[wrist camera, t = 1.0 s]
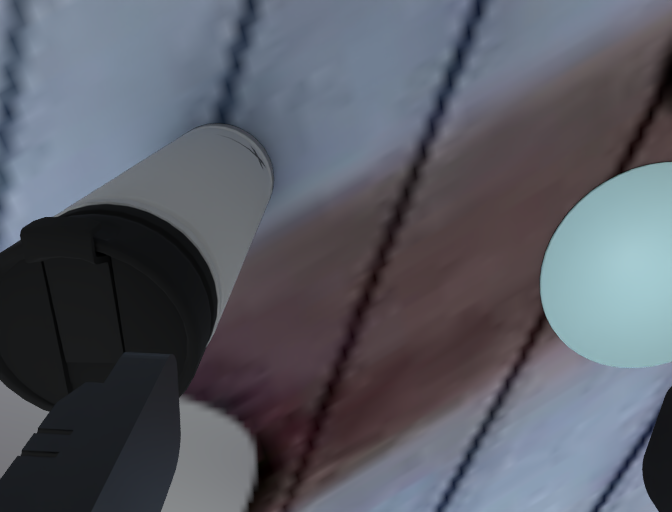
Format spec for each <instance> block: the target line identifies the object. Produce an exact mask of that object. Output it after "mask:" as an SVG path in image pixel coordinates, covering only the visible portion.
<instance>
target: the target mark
mask: <svg viewBox="0 0 672 512" xmlns="http://www.w3.org/2000/svg"><path fill="white" fill-rule="evenodd" d="M540 296H541V302H542V306H543V309H544V312H545V315H546V318H547V319H548V321H549V323H550V325H551V327H552V329H553V330H554V331H555V333H556V334H557V335H558V337H559V338H560V339H561V340H562V341H563V342H564V343H565V344H566V345H567V346H568V347H569V348H571V349H572V350H573V351H575V352H576V353H578V354H579V355H581V356H583V357H585V358H587V359H589V360H591V361H594V362H597V363H600V364H603V365H608V366H612V367H621V368H643V367H651V366H657V365H661V364H666V363H669V362H672V162H661V163H654V164H648V165H645V166H641V167H637V168H634V169H631V170H628V171H626V172H623V173H621V174H618V175H617V176H615V177H613V178H611V179H609V180H607V181H605V182H604V183H602V184H601V185H599V186H598V187H596V188H595V189H593V190H592V191H590V192H589V193H588V194H587V195H586V196H585V197H583V198H582V199H581V200H580V201H579V202H578V203H577V204H576V205H575V206H574V207H573V208H572V209H571V210H570V211H569V212H568V213H567V215H566V216H565V217H564V219H563V220H562V222H561V223H560V224H559V226H558V227H557V229H556V231H555V232H554V234H553V236H552V238H551V240H550V242H549V244H548V247H547V249H546V252H545V255H544V258H543V262H542V266H541V274H540Z"/></svg>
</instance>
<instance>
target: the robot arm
mask: <svg viewBox="0 0 672 512" xmlns="http://www.w3.org/2000/svg"><path fill="white" fill-rule="evenodd" d="M180 436H181V432H180V411H179V391H178V371H177V361H176V358H175V356H174V355H173V354H160V353H141V352H125V353H123V354H122V356H121V357H120V358H119V360H118V362H117V363H116V365H115V366H114V368H113V369H112V371H111V372H110V374H109V376H108V377H107V379H106V380H105V382H104V383H95V382H85V383H84V384H82V385H81V386H80V387H78V388H77V389H75V390H74V391H72V392H71V393H70V394H68V395H67V396H65V397H64V398H62V399H61V400H60V401H58V402H57V403H56V404H55V406H54V407H53V408H52V410H51V411H50V412H49V414H48V415H47V417H46V418H45V419H44V421H43V422H42V423H41V425H40V426H39V428H38V432H37V433H34V434H33V436H32V437H31V438H30V440H29V441H28V442H27V444H26V445H25V446H24V448H23V449H22V454H21V456H17V457H16V459H15V460H14V461H13V463H12V464H11V466H10V467H9V468H8V470H7V471H6V472H5V474H4V475H3V476H2V478H1V479H0V512H161V509H162V507H163V504H164V501H165V499H166V496H167V493H168V490H169V487H170V484H171V482H172V479H173V476H174V473H175V470H176V466H177V462H178V456H179V449H180ZM642 471H643V480H644V484H645V487H646V490H647V493H648V495H649V497H650V499H651V500H652V502H653V503H654V505H655V506H656V508H657V509H658V511H659V512H672V387H671V388H670V389H669V390H668V392H667V393H666V396H665V398H664V401H663V404H662V407H661V410H660V412H659V415H658V418H657V421H656V424H655V427H654V429H653V432H652V435H651V438H650V441H649V444H648V446H647V449H646V452H645V455H644V459H643V467H642Z"/></svg>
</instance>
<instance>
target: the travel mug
mask: <svg viewBox="0 0 672 512" xmlns="http://www.w3.org/2000/svg"><path fill="white" fill-rule="evenodd" d="M273 183H274V175H273V168H272V165H271V161H270V158H269V156H268V155H267V153H266V151H265V149H264V148H263V147H262V145H261V144H260V143H259V142H258V141H257V140H256V139H255V138H254V137H253V136H251V135H250V134H249V133H247V132H245V131H244V130H242V129H240V128H238V127H235V126H231V125H228V124H220V123H215V124H206V125H203V126H199V127H196V128H194V129H193V130H191V131H189V132H187V133H186V134H184V135H182V136H181V137H179V138H178V139H176V140H174V141H173V142H171V143H170V144H168V145H167V146H165V147H163V148H162V149H160V150H159V151H157V152H155V153H154V154H152V155H151V156H149V157H147V158H146V159H144V160H143V161H141V162H139V163H138V164H136V165H135V166H133V167H132V168H130V169H128V170H127V171H125V172H124V173H122V174H120V175H119V176H117V177H116V178H114V179H112V180H111V181H109V182H108V183H106V184H104V185H103V186H101V187H100V188H98V189H97V190H95V191H93V192H92V193H90V194H89V195H87V196H85V197H84V198H82V199H81V200H79V201H77V202H76V203H74V204H73V205H71V206H69V207H68V208H66V209H65V210H64V211H62V212H60V213H58V214H57V215H55V216H54V217H44V218H41V219H38V220H35V221H33V222H31V223H30V224H28V225H27V226H25V227H23V228H22V230H21V233H20V237H21V240H20V241H18V242H17V243H15V244H13V245H12V246H10V247H9V248H7V249H6V250H4V251H2V252H1V253H0V380H1V381H2V382H3V383H4V384H5V385H6V386H7V387H8V388H9V389H11V390H12V391H14V392H15V393H16V394H18V395H19V396H20V397H22V398H23V399H24V400H26V401H28V402H30V403H32V404H34V405H35V406H37V407H39V408H41V409H43V410H46V411H51V410H52V408H53V407H54V406H55V404H56V403H57V402H58V401H60V400H61V399H62V398H64V397H65V396H67V395H68V394H70V393H71V392H72V391H74V390H75V389H77V388H78V387H80V386H81V385H82V384H84V383H85V382H95V383H104V382H105V380H106V379H107V377H108V376H109V374H110V372H111V371H112V369H113V368H114V366H115V365H116V363H117V362H118V360H119V358H120V357H121V356H122V354H123V353H125V352H141V353H160V354H173V355H174V356H175V358H176V361H177V371H178V391H179V397H180V396H181V395H182V394H183V393H184V392H185V391H186V390H187V388H188V386H189V384H190V383H191V381H192V379H193V377H194V375H195V373H196V371H197V368H198V366H199V363H200V361H201V359H202V356H203V354H204V352H205V349H206V347H207V345H208V343H209V342H210V340H211V338H212V336H213V334H214V332H215V330H216V328H217V324H218V322H219V320H220V318H221V316H222V313H223V311H224V308H225V306H226V303H227V301H228V299H229V296H230V294H231V291H232V289H233V287H234V284H235V282H236V279H237V277H238V275H239V272H240V270H241V267H242V265H243V263H244V260H245V258H246V255H247V253H248V250H249V248H250V246H251V243H252V241H253V238H254V236H255V234H256V231H257V229H258V226H259V224H260V222H261V219H262V217H263V214H264V212H265V210H266V207H267V204H268V202H269V200H270V197H271V194H272V190H273Z"/></svg>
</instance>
